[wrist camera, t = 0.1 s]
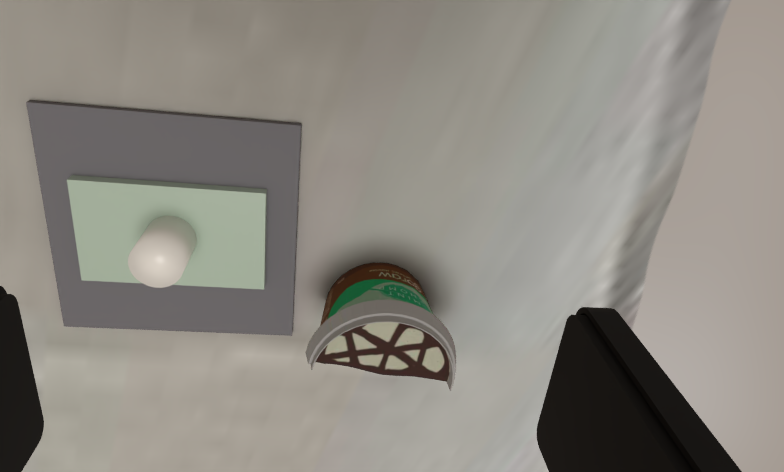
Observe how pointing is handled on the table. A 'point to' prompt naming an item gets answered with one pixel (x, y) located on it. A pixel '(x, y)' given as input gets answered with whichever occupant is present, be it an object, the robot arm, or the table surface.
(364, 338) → the food container
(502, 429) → the table surface
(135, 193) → the lid
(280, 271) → the mat
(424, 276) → the table surface
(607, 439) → the robot arm
